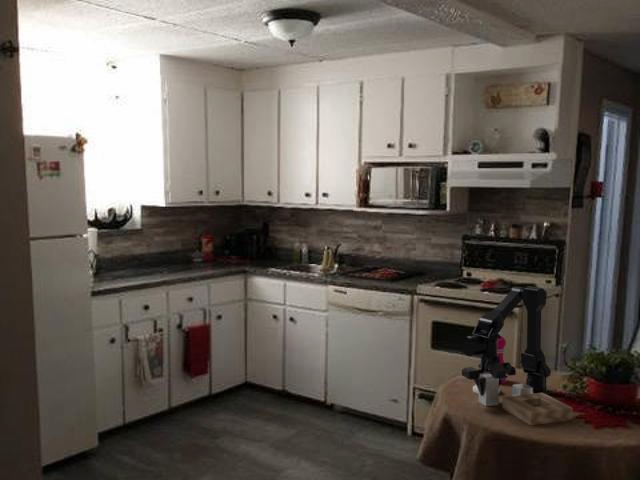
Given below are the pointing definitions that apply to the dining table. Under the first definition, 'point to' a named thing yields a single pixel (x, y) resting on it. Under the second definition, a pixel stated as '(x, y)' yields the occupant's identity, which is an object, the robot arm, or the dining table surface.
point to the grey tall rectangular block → (490, 391)
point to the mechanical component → (478, 390)
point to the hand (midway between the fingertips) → (488, 394)
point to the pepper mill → (501, 350)
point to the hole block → (537, 408)
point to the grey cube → (521, 389)
